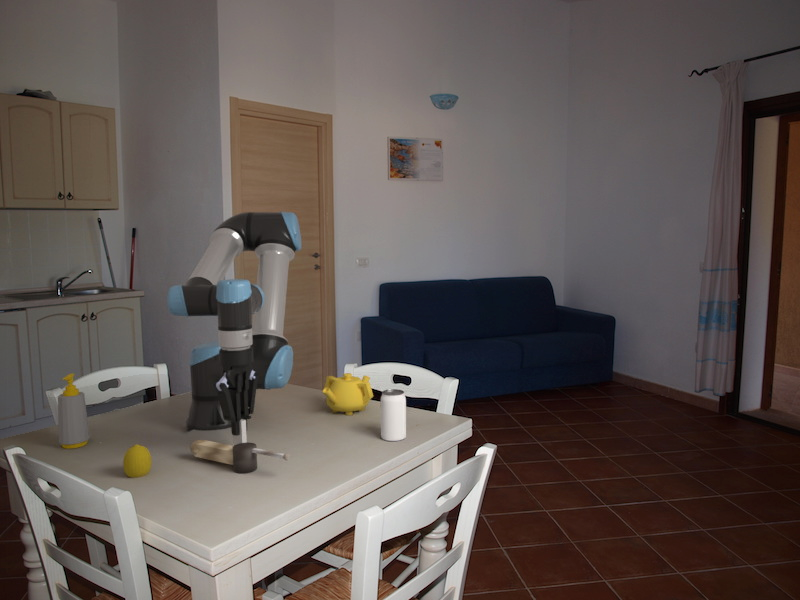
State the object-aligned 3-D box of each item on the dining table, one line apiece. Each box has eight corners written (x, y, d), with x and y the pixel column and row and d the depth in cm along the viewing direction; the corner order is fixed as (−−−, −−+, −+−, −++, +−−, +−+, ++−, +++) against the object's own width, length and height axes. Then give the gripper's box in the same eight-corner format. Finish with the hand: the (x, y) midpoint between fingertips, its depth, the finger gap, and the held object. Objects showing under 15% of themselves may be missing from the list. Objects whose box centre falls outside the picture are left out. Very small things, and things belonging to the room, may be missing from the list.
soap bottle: (54, 450, 144) (48, 379, 142) (65, 441, 151) (60, 372, 149) (84, 448, 145) (79, 377, 143) (94, 439, 152) (89, 371, 150)
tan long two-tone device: (185, 461, 133) (184, 438, 132) (201, 453, 137) (200, 431, 136) (282, 483, 120) (281, 458, 120) (297, 474, 125) (296, 450, 124)
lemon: (130, 475, 129) (127, 440, 128) (156, 474, 129) (154, 439, 128) (120, 486, 123) (117, 449, 122) (147, 485, 124) (145, 448, 123)
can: (403, 442, 147) (403, 396, 146) (378, 441, 148) (377, 394, 147) (408, 434, 153) (408, 389, 152) (384, 432, 155) (383, 388, 153)
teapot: (347, 398, 188) (346, 363, 187) (392, 407, 177) (392, 371, 176) (302, 414, 172) (301, 376, 171) (349, 425, 161) (348, 385, 160)
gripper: (228, 353, 127) (232, 459, 130) (267, 343, 139) (271, 440, 141) (202, 351, 130) (207, 453, 133) (243, 341, 142) (246, 436, 145)
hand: (240, 447), depth 137 cm, fingers closed
